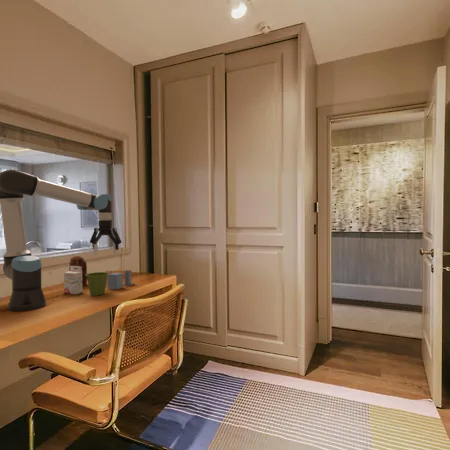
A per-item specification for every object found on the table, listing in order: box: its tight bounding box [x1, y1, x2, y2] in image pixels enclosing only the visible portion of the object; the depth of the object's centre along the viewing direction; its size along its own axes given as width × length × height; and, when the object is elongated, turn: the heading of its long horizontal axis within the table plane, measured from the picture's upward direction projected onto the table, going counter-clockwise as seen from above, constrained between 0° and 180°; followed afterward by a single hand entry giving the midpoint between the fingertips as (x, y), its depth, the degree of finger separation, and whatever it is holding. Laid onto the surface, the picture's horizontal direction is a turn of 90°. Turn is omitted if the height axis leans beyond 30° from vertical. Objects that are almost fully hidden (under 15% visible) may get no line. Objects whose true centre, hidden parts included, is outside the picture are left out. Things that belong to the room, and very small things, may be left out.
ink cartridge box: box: [63, 265, 83, 295], centre depth 172 cm, size 9×5×15 cm, turn 74°
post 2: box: [123, 269, 136, 287], centre depth 192 cm, size 6×6×9 cm
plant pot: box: [85, 271, 109, 297], centre depth 169 cm, size 12×12×11 cm
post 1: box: [105, 270, 113, 287], centre depth 191 cm, size 6×6×9 cm
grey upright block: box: [107, 272, 124, 290], centre depth 183 cm, size 6×6×9 cm
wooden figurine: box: [68, 255, 88, 287], centre depth 191 cm, size 12×6×18 cm, turn 86°
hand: (105, 255), depth 186 cm, fingers open, 13 cm apart
